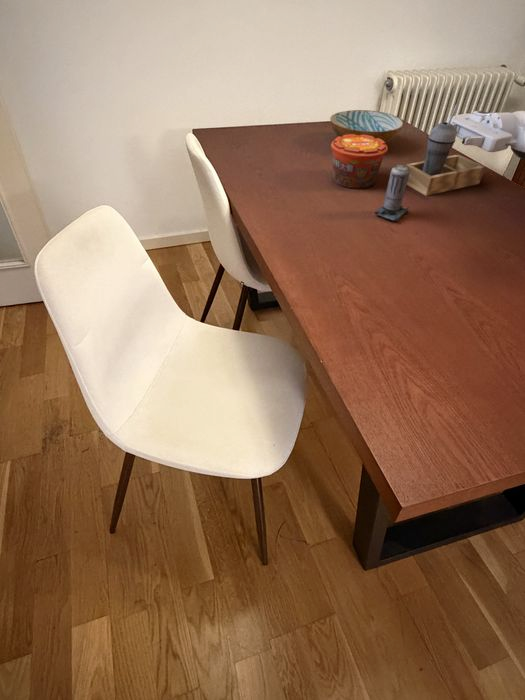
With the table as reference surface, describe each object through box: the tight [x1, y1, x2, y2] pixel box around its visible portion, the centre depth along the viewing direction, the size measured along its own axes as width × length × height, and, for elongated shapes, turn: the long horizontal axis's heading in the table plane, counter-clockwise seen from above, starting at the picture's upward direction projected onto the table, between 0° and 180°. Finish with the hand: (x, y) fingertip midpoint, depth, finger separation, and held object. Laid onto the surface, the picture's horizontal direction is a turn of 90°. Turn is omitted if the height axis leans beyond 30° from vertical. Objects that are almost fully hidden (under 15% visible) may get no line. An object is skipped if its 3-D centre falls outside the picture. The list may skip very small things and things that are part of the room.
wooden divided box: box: [404, 154, 486, 197], centre depth 119 cm, size 21×11×5 cm, turn 115°
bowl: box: [329, 109, 405, 145], centre depth 141 cm, size 25×25×8 cm
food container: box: [330, 134, 389, 190], centre depth 117 cm, size 16×16×11 cm
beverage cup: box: [423, 104, 458, 176], centre depth 111 cm, size 7×7×20 cm
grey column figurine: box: [374, 164, 410, 223], centre depth 101 cm, size 9×8×12 cm
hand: (453, 135), depth 110 cm, fingers open, 8 cm apart
